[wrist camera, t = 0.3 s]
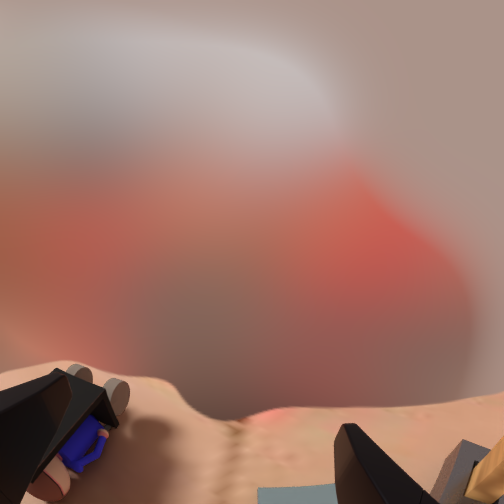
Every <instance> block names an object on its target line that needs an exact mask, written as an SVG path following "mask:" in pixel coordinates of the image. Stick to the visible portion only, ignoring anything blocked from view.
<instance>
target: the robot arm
mask: <svg viewBox="0 0 504 504" xmlns="http://www.w3.org/2000/svg"><path fill="white" fill-rule="evenodd" d="M71 399H72V391H71V388H70V385H69V382H68V379H67V377H66V375H64V374H61V373H59V372H54V373H51V374H48V375H45V376H43V377H40V378H37V379H34V380H31V381H29V382H26V383H23V384H20V385H17V386H14V387H11V388H8V389H5V390H2V391H0V504H20V503H21V501H22V499H23V496H24V494H25V492H26V490H27V488H28V486H29V484H30V482H31V480H32V478H33V476H34V474H35V472H36V470H37V468H38V466H39V464H40V462H41V460H42V458H43V456H44V454H45V453H46V451H47V449H48V447H49V445H50V443H51V442H52V440H53V438H54V436H55V434H56V432H57V430H58V428H59V426H60V424H61V422H62V419H63V417H64V415H65V412H66V410H67V408H68V405H69V403H70V401H71ZM334 465H335V488H336V495H337V502H338V504H440V503H439V502H438V501H437V500H435V499H434V498H433V497H432V496H431V495H430V494H429V493H427V492H426V491H425V490H423V488H422V487H421V486H420V485H419V484H418V483H416V482H415V481H414V480H413V479H412V478H411V477H410V476H409V475H408V474H407V473H406V472H405V471H404V470H403V469H402V468H400V467H399V466H398V465H397V464H396V463H395V462H394V461H393V460H392V459H391V458H390V457H389V456H388V455H387V454H386V453H385V452H384V451H383V450H382V449H381V448H380V447H379V446H378V445H377V444H376V443H375V442H374V441H373V440H372V439H371V438H370V437H369V436H368V435H367V434H366V433H365V432H364V431H363V430H362V429H361V428H360V427H359V426H358V425H357V424H355V423H345V424H342V425H341V427H340V429H339V432H338V434H337V436H336V438H335V441H334Z"/></svg>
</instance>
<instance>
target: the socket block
mask: <svg viewBox="0 0 504 504" xmlns="http://www.w3.org/2000/svg"><path fill="white" fill-rule="evenodd" d="M490 451H491V450H490V449H487V448H485V447H482V446H479V445H477V444H474V443H472V442H469V441H467V440H464V439H462V441H461V442H460V443H459V444H458V445H457V447H456V448H455V449H454V450H453V451H452V452H451V453H450V455H449V456H448V457H447V458H446V459H445V462H444V464H443V467H442V469H441V471H440V474H439V476H438V478H437V480H436V483H435V485H434V487H433V489H432V491H431V493H430V495H431V496H432V497H433V498H434V499H435V500H437V501H438V502H439V503H440V504H487V503H484V502H481V501H477V500H474V499H471V498H468V497H465V496H463V494H464V491H465V488H466V486H467V483H468V480H469V477H470V474H471V471H472V470H473V469H474V468H475V467H476V466H477V465H478V464H479V463H480V462H481V461H482V460H483V458H484V457H485V456H486V455H487V454H488V453H489V452H490ZM492 504H504V494H503V495H502V496H501V497H500V498H499V499H497V500H496V501H495V502H494V503H492Z"/></svg>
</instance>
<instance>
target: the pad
mask: <svg viewBox="0 0 504 504" xmlns="http://www.w3.org/2000/svg"><path fill="white" fill-rule="evenodd" d="M258 504H338V502H337V495H336V488H335V483H334V484H326V485H316V486H303V487H280V488H258Z"/></svg>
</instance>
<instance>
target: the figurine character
mask: <svg viewBox="0 0 504 504" xmlns="http://www.w3.org/2000/svg"><path fill="white" fill-rule="evenodd" d="M54 372H59V373H61V374H64V375H66V377H67V379H68V382H69V385H70V388H71V391H72V399H71V401H70V403H69V405H68V408H67V410H66V412H65V415H64V417H63V419H62V422H61V424H60V426H59V428H58V430H57V432H56V434H55V436H54V438H53V440H52V442H51V443H50V445H49V447H48V449H47V451H46V453H45V454H44V456H43V458H42V460H41V462H40V464H39V466H38V468H37V470H36V472H35V474H34V476H33V478H32V480H31V482H30V484H29V486H28V488H27V490H26V491H27V492H28V493H30V494H31V495H33V496H34V497H36V498H38V499H41V500H44V501H58V500H60V499H62V498H64V497H65V496H66V495H67V493H68V491H69V489H70V477H69V473H68V471H67V469H66V467H68V468H72V469H73V470H74V471H76V472H78V473H81V472H82V471H83V466H85V465H87V464H89V463H90V462H92V461H94V460H96V459H98V458H100V455H101V453H102V450H103V447H104V444H105V442H106V439H107V438H108V437H109V433H108V431H109V430H110V428H111V427H114V428H117V427H118V425H119V422H118V420H117V418H116V416H118V415H120V414H122V413H123V412H124V410H125V409H126V407H127V405H128V402H129V397H130V388H129V385H128V383H127V382H125V381H122V380H119V379H116V378H111V379H109V380H108V381H107V382H106V383H105V384H104V386H103V388H102V387H100V386H97V385H95V384H92V383H93V376H92V372H91V371H90V369H89V368H87V367H84V366H81V365H79V364H73V365H71V366H70V367H69V368H68V369H67V371H66V372H65V371H62V370H60V369H58V368H55V369H54V370H53V371H52V372H51V373H54ZM51 373H50V374H51ZM99 421H100V422H102V423H104V424H106V425H105V426H104V427H103V426H102V425H101V424H100V423H99ZM98 437H99V438H98ZM97 438H98V441H97V443H96V446H95V448H94V451H93V452H91V453H90V454H88V455H86V456H84V454H85V453H86V452H87V451H88V449H89V448H90V447H91V445H92V444H93V443H94V442H95V440H96V439H97ZM83 456H84V457H83ZM65 466H66V467H65Z"/></svg>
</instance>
